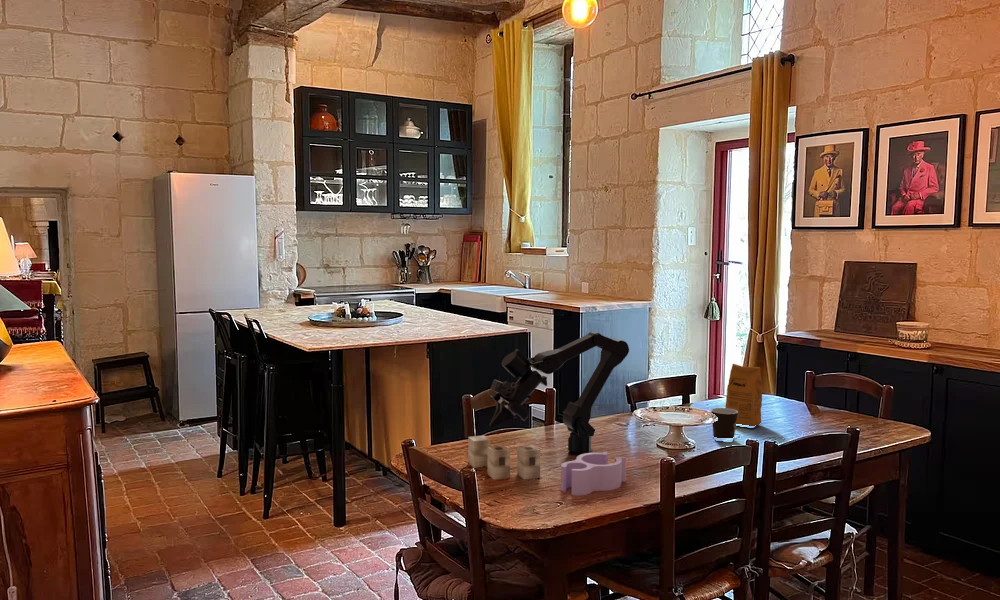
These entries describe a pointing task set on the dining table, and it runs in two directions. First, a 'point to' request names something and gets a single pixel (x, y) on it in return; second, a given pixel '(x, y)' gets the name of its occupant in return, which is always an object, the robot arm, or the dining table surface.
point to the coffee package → (745, 394)
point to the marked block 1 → (498, 462)
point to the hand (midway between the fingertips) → (490, 426)
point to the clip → (592, 473)
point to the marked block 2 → (528, 462)
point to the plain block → (478, 451)
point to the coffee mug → (724, 422)
